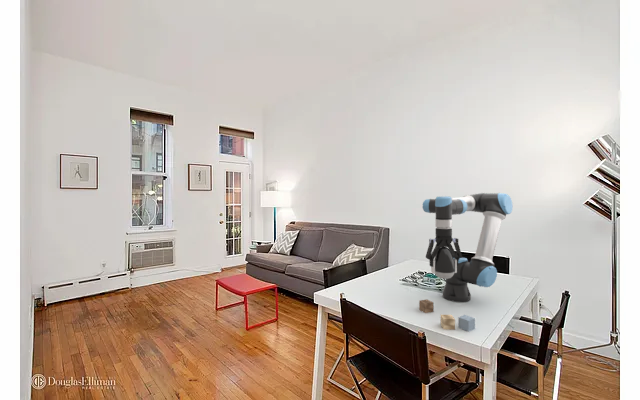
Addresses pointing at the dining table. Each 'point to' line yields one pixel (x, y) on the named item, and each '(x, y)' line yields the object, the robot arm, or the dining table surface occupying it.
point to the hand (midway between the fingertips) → (443, 272)
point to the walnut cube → (426, 306)
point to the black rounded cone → (444, 263)
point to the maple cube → (447, 322)
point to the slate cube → (466, 323)
